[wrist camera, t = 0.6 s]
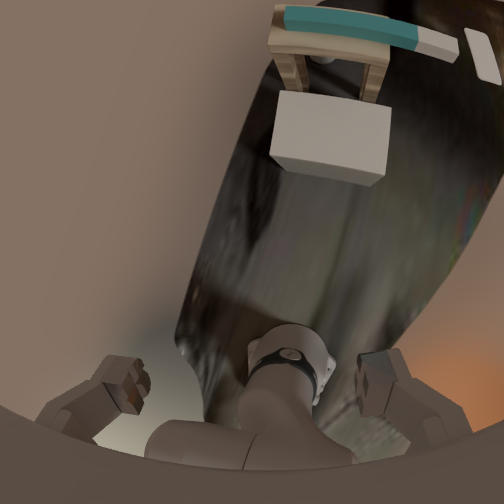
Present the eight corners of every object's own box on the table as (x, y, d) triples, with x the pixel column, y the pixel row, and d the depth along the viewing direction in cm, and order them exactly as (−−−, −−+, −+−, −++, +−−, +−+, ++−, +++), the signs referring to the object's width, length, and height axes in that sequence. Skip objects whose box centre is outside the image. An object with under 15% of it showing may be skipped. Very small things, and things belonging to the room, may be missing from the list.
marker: (452, 63, 22) (459, 54, 20) (286, 30, 27) (283, 19, 25) (450, 48, 22) (456, 38, 20) (289, 16, 27) (285, 5, 24)
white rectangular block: (369, 186, 51) (384, 175, 36) (286, 171, 55) (269, 154, 39) (375, 136, 49) (391, 107, 34) (294, 122, 53) (280, 90, 38)
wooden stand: (366, 124, 50) (389, 59, 25) (295, 113, 53) (267, 44, 28) (369, 93, 48) (388, 17, 24) (299, 82, 52) (275, 4, 27)
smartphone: (478, 78, 40) (463, 27, 38) (477, 79, 41) (462, 28, 39) (502, 85, 39) (487, 34, 37) (501, 86, 39) (485, 35, 37)
